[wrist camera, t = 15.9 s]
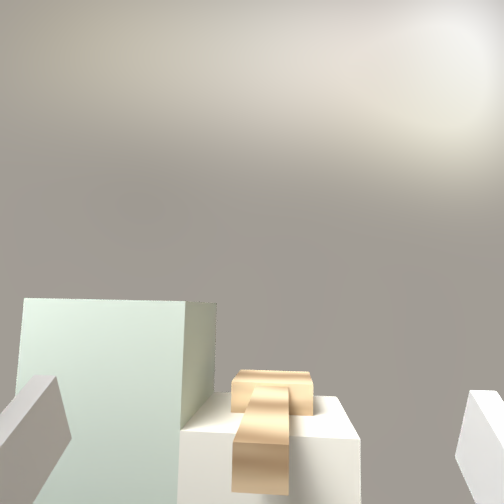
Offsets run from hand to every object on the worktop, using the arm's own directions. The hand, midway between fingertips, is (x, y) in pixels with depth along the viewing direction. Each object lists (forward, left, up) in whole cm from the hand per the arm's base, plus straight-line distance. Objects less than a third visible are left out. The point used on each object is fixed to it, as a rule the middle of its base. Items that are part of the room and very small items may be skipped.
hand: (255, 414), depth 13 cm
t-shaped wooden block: (-9, +11, -4) cm, 15 cm away
